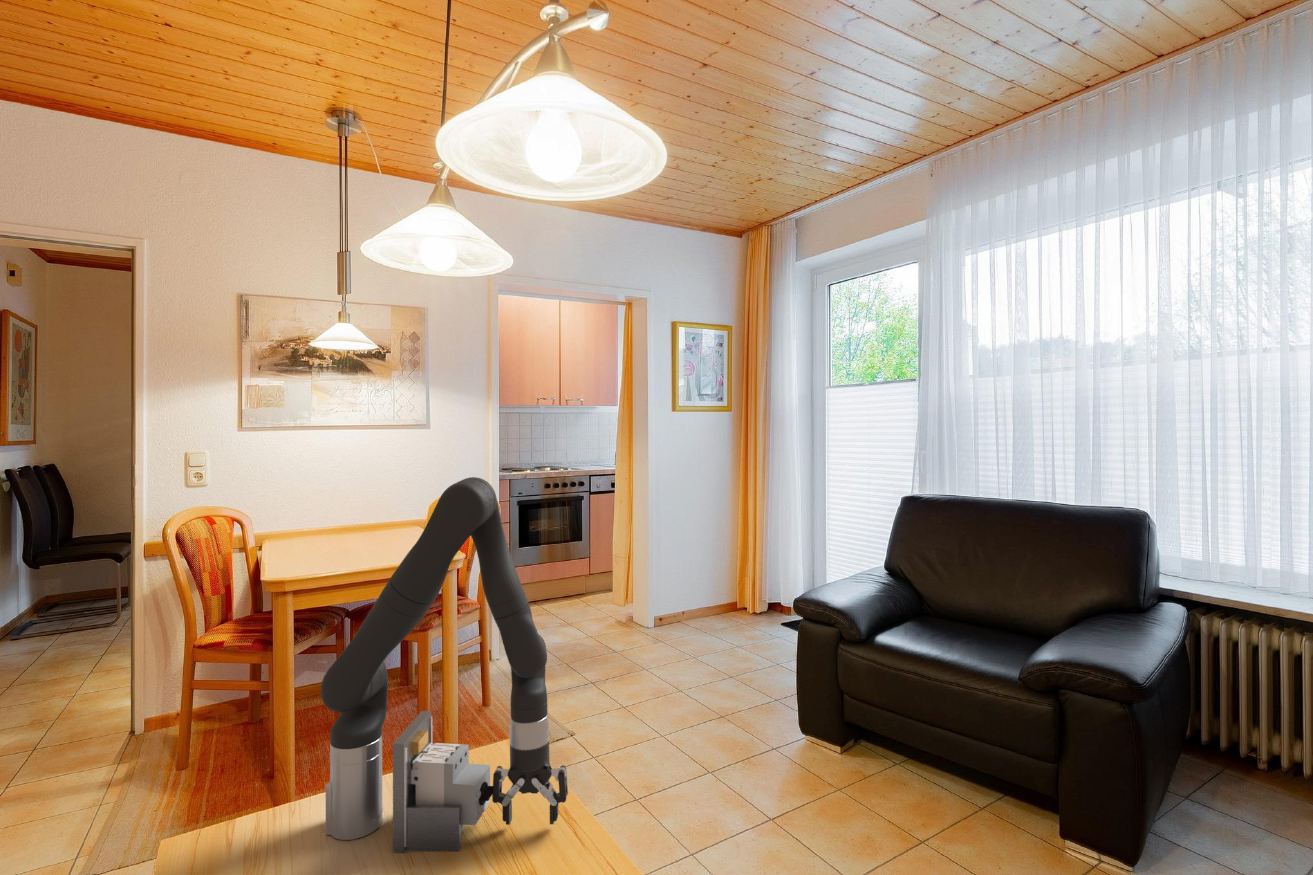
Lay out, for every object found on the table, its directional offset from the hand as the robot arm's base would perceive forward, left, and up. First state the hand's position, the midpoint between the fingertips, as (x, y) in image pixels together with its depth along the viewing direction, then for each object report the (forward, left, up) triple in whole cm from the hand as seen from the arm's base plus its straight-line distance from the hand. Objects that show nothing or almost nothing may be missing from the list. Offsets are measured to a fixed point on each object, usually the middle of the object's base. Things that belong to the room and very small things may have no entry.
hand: (530, 822), depth 124 cm
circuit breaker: (-14, -1, -2) cm, 14 cm away
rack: (-19, 0, -1) cm, 19 cm away
